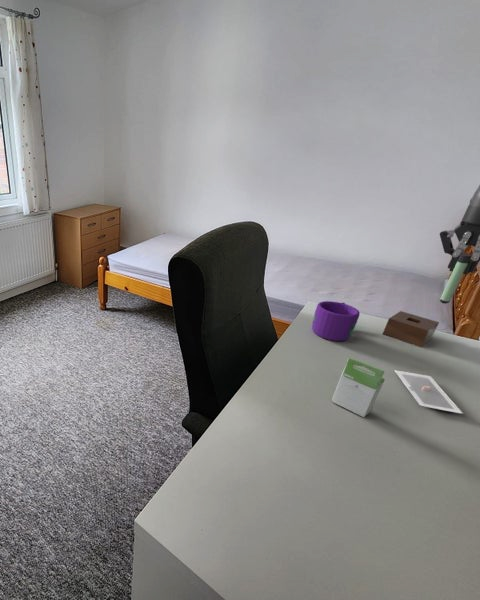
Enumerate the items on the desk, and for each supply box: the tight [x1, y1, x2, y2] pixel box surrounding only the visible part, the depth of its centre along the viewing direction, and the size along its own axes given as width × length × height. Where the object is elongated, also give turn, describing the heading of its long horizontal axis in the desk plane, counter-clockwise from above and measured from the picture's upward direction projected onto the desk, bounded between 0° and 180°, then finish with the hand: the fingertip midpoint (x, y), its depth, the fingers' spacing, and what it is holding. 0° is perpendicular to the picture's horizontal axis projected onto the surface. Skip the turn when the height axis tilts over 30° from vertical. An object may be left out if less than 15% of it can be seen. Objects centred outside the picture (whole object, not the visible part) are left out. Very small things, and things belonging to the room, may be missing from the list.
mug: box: [311, 300, 361, 342], centre depth 114 cm, size 17×11×10 cm, turn 134°
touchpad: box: [394, 369, 464, 414], centre depth 86 cm, size 8×15×2 cm, turn 158°
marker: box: [439, 253, 473, 304], centre depth 89 cm, size 2×2×14 cm
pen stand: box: [382, 310, 440, 348], centre depth 111 cm, size 10×10×6 cm
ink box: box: [331, 357, 386, 418], centre depth 80 cm, size 7×4×13 cm, turn 34°
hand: (458, 271), depth 89 cm, fingers closed on marker, 2 cm apart
